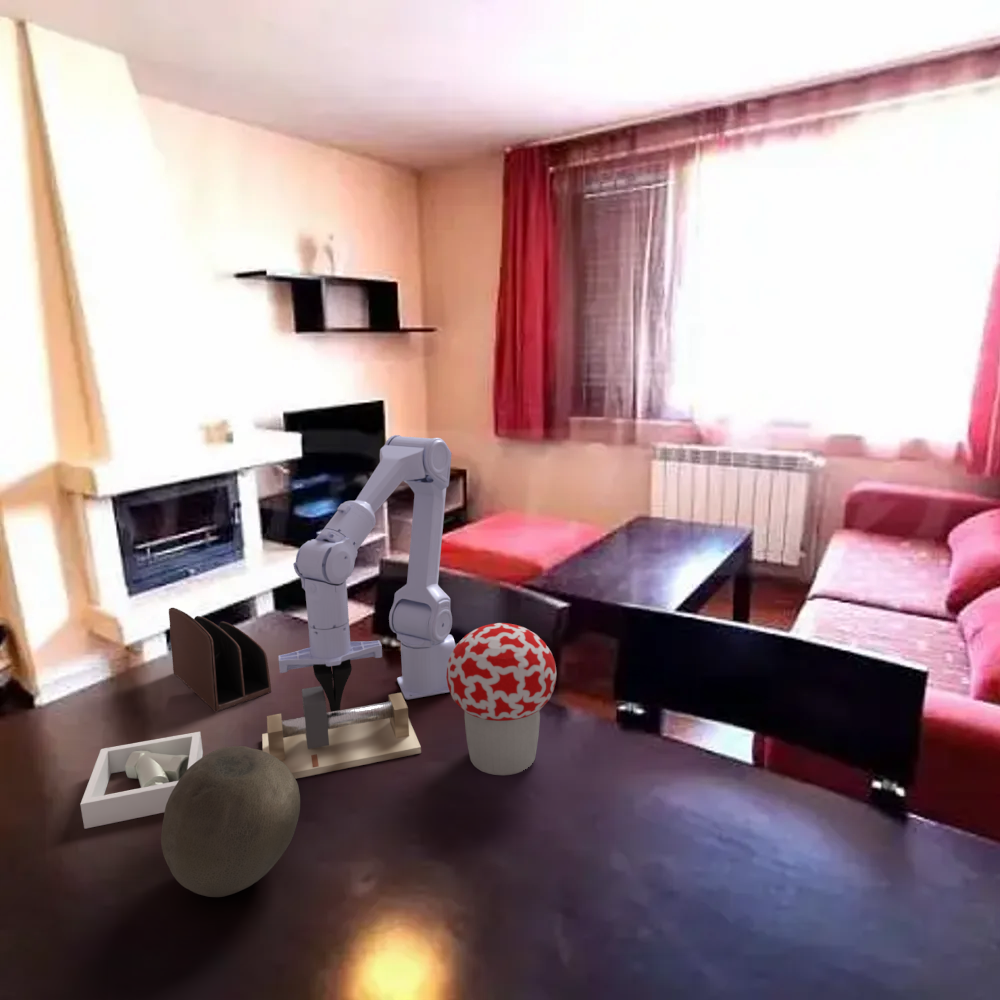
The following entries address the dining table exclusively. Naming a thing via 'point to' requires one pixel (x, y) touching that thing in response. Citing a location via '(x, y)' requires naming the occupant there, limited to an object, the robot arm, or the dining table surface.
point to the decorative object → (501, 694)
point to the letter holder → (217, 660)
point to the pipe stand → (345, 743)
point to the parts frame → (134, 801)
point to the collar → (315, 717)
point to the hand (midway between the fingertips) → (334, 707)
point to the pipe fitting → (155, 767)
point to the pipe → (342, 718)
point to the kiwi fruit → (229, 820)
